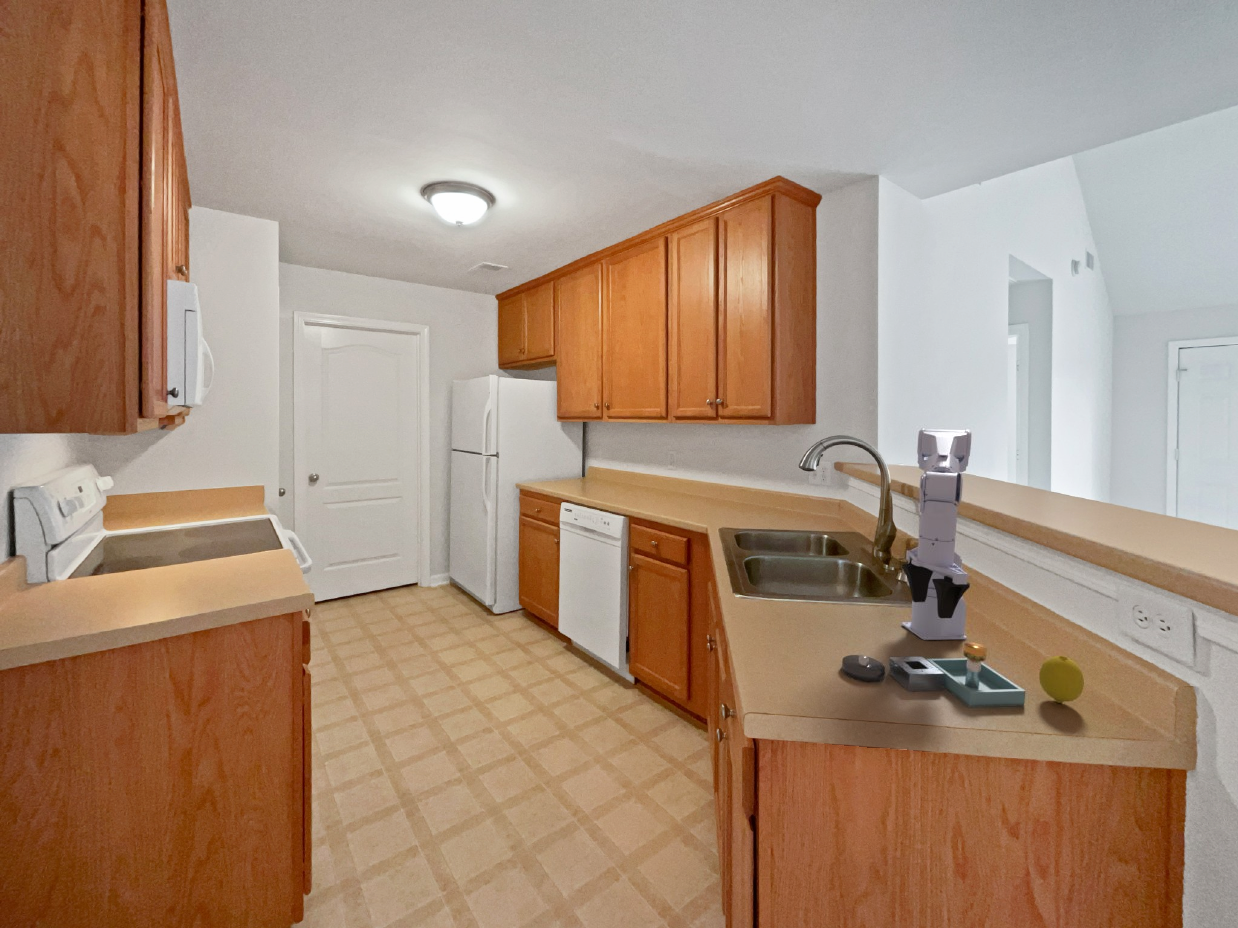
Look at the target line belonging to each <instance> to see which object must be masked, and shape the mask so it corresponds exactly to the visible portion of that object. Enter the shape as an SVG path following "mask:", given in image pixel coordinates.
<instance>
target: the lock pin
mask: <svg viewBox="0 0 1238 928" xmlns="http://www.w3.org/2000/svg"><path fill="white" fill-rule="evenodd" d="M987 652H988V648H987V647H986V646H985V645H983V644H981V643H977V642H973V641H972V642H970V641H969V642H967V641H966V642H964V644H963V653H962V654H963V656H964V658H967V667H966V678H965V685H966V686H968V687H970V688H974V689H978V688H979V682H980V671H981V662H985V661H986V660H987Z"/></svg>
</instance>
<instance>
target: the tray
mask: <svg viewBox="0 0 1238 928" xmlns="http://www.w3.org/2000/svg"><path fill="white" fill-rule="evenodd" d="M925 659H926V660H927V661H928V662H930V663H931V664H932V665H934V666H935V667H936V668H938V669H939V670H940V671H942V672H943V673H944V682H943V688H945V690H947V691H948V692H950V693H951V695H953V696H955V697H956V698H957V699H958V700H959V701H961V702H962V703H963V704H965V705H966V706H968V707H969V708H984V707H987V708H989V707H1020V706H1021V707H1022V706H1023V707H1024V706H1025V701H1026V690H1025V689H1024V688H1022V687H1020V686H1019V685H1017V684H1016V683H1015V682H1013V681H1012V680H1009V679H1008V678H1006V677H1005V676H1004V675H1003V674H1000V673H999V672H998V671H996V670H995V669H994V668H992V667H990V666H989V665H987V664H986V663H984V662H983V661H981V671H980V682H979V688H978V689H974V688H970V687H968V686H966V685H965V678H966V667H967V657H959V658H956V657H955V658H951V657H950V658H925Z"/></svg>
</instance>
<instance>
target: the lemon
mask: <svg viewBox="0 0 1238 928" xmlns="http://www.w3.org/2000/svg"><path fill="white" fill-rule="evenodd" d="M1084 681H1085V679H1084V674H1083V671H1082V670H1081V668H1080V666H1079V665H1078V664H1077V663H1076V662H1074V661H1073V660H1072V659H1070V658H1068V657H1067V656H1066V655H1062V654H1061V655H1055V656H1054V655H1053V656H1052V657H1051V656H1050V657H1048V658H1047V659H1046V660H1045V661H1044V662H1043V663H1042V664H1041V667H1040V670H1039V684H1040V686H1041V688H1042V689H1043V691H1044V693H1045V694H1047V695H1048V696H1049V697H1050V698H1052V699H1053V700H1054V701H1055V702H1056V703H1057V704H1062V703H1065V702H1073V701H1075V700H1077V699H1078V698H1079V697H1080V696H1081V695H1082V693H1083V690H1084V688H1085V687H1084V684H1085V682H1084Z"/></svg>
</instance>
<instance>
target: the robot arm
mask: <svg viewBox="0 0 1238 928" xmlns="http://www.w3.org/2000/svg"><path fill="white" fill-rule="evenodd" d="M971 445H972V431H970V429H927V428H921V429H920V430H919V431H918V435H917V447H916V449H917V451H916V453H917V464H918V468H919V469H920V470H921V471H923V474H922V473H921V474H920V480H919V489H918V491H919V492H918V498H919V512H920V515H919V529H918V543H917V547H915V548H912V549H907V550H906V554H905V556H906V557H905V560H906V561H907V563H902V564H901V568H902V570H903V572H904V574H905V576H906V584H907V586H908V587H909V589H910V595H911V599H912V601H911V602H912V603H911V616H910V621H908V622H907V621H905V622H904V621H902V622H901V625H902V626H903V627H904V628H906V629H907V630H909V631H910V632H911V633H913V634H914V635H916V636H917V637H919V638H920V639H922V640H924V641H929V640H933V641H934V640H936V641H939V640H940V641H941V640H944V641H945V640H967V639H968V637H967V636H966V635H965V630H966V629H965V628H966V620H967V619H966V617H967V605H966V601H965V599H964V597H963V596H964V594H965V593H966V592H967V591H968V590H969V589H970V588H971V583H969V582H968V579H969V577H968V576H969V574H968V572H966V571H964V570H963V566H962V565H963V559H962V558H961V555H960V554H958V552H955V548H956V547H955V546H956V537H957V535H956V534H957V521H958V511H959V506H960V504H961V502H962V499H963V498H962V497H963V487H964V486H963V485H964V484H963V483H964V479H963V475H962V473H963V472H966V471H967V467H968V466H969V459H970V456H971V455H970V454H971V449H972V446H971Z"/></svg>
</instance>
